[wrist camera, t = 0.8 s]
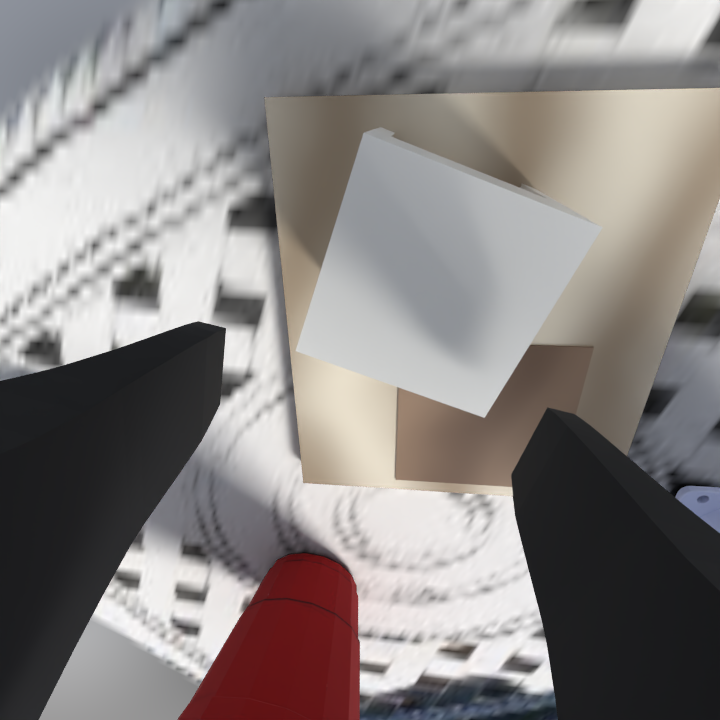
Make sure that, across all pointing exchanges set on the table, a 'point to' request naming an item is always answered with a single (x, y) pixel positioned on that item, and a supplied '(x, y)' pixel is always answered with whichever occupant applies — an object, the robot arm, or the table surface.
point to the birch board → (573, 308)
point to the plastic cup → (289, 650)
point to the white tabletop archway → (439, 274)
